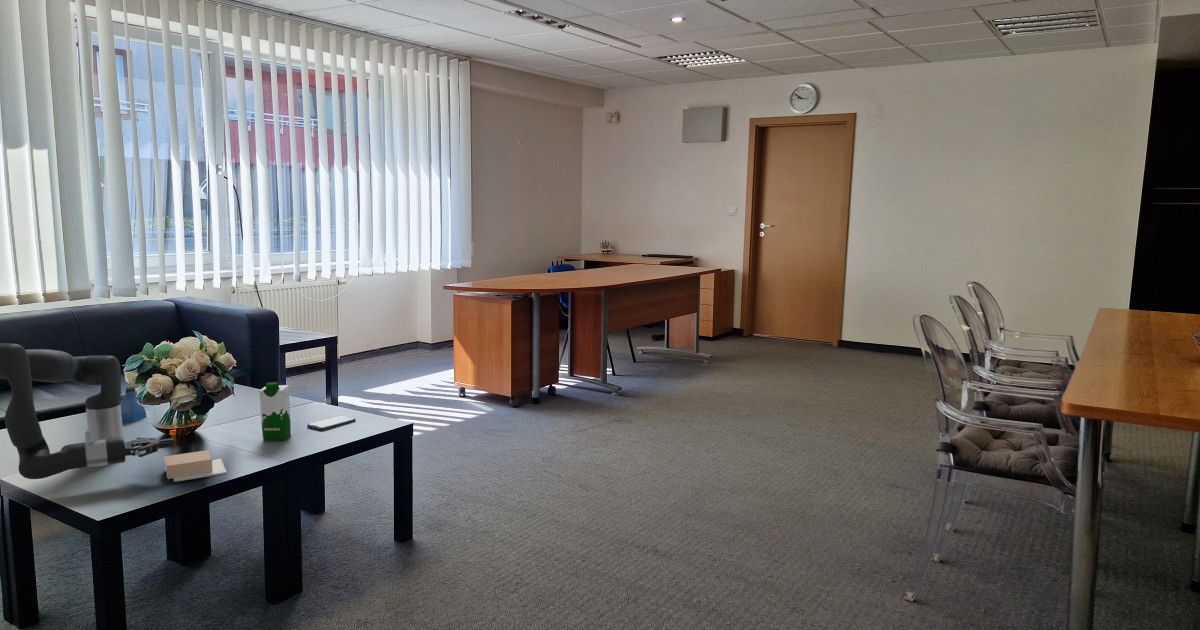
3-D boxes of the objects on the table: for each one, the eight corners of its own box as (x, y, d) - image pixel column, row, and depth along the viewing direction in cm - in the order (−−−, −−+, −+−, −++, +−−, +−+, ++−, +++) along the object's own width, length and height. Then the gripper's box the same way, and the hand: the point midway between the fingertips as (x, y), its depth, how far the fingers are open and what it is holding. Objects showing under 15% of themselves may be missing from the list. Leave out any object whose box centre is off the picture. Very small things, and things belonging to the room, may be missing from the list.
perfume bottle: (146, 417, 295) (143, 386, 293) (134, 421, 289) (131, 390, 287) (131, 416, 296) (128, 385, 294) (119, 421, 290) (116, 389, 288)
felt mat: (174, 481, 228) (173, 480, 228) (170, 468, 240) (170, 466, 240) (226, 473, 236) (226, 471, 235) (220, 460, 247) (220, 458, 247)
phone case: (341, 419, 297) (305, 428, 283) (341, 415, 296) (305, 424, 283) (357, 422, 292) (321, 432, 279) (357, 418, 292) (321, 428, 278)
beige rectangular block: (166, 466, 228) (211, 459, 235) (164, 456, 237) (208, 450, 243) (167, 479, 229) (212, 471, 235) (165, 469, 237) (209, 462, 244)
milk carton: (259, 442, 266) (256, 385, 263) (268, 434, 275) (265, 378, 272) (286, 441, 266) (283, 384, 263) (294, 434, 275) (291, 378, 272)
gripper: (104, 445, 218) (174, 435, 227) (103, 433, 229) (171, 424, 238) (106, 471, 219) (176, 460, 228) (106, 458, 230) (172, 448, 239)
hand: (173, 442), depth 233 cm, fingers closed
